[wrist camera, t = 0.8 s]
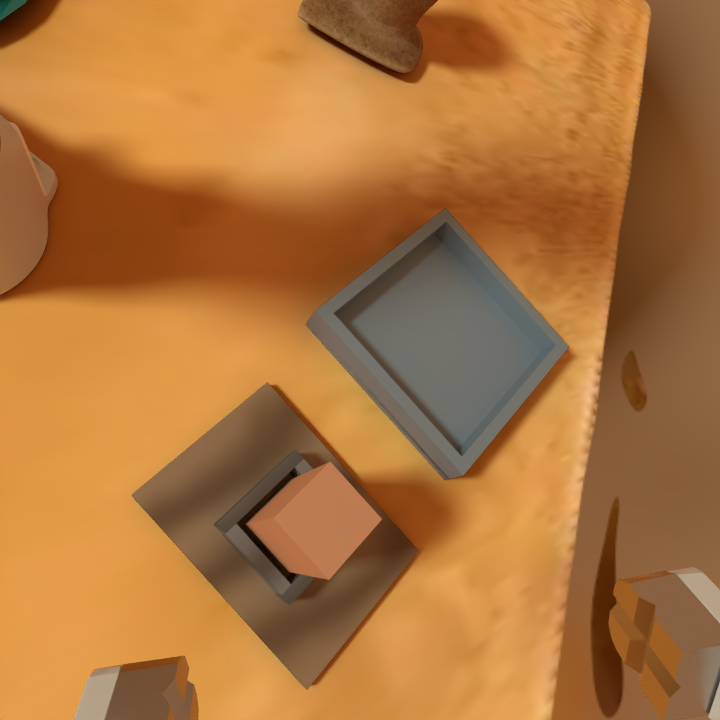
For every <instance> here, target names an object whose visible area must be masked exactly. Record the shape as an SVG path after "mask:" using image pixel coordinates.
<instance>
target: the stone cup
mask: <svg viewBox="0 0 720 720" xmlns="http://www.w3.org/2000/svg"><path fill="white" fill-rule="evenodd" d="M437 1H438V0H303V1H302V3H301V5H300V9H299V13H298V16H299V17H300V18H301V19H302V20H304V21H305V22H307V23H308V24H310V25H312V26H313V27H315V28H317V29H319V30H320V31H322V32H323V33H325V34H327V35H328V36H330V37H332V38H333V39H335V40H337V41H339V42H340V43H342V44H344V45H345V46H347V47H349V48H351V49H352V50H354V51H356V52H358V53H360V54H362V55H363V56H365V57H367V58H369V59H371V60H373V61H375V62H377V63H379V64H381V65H383V66H385V67H387V68H389V69H392V70H394V71H396V72H400V73H409V72H411V71H412V70H413V69H414V68H415V67H416V66H417V64H418V62H419V60H420V58H421V55H422V49H423V44H422V38H421V34H420V31H419V30H418V28H417V27H416V24H417V22H418V21H419V19H420V18H421V16H422V15H423V14H424V13H425V12H426V11H427V10H428V9H429V8H430V7H432V6H433V5H434V4H435V3H436V2H437Z"/></svg>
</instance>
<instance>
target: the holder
mask: <svg viewBox="0 0 720 720" xmlns="http://www.w3.org/2000/svg"><path fill="white" fill-rule="evenodd" d="M328 462H331V463H332V464H333V465H334V466H335V467H336V468H337V469H338V471H339V472H340V473H341V474H342V475H343V476H344V477H345V478H346V480H347V481H348V482H349V483H350V484H351V485H352V486H353V487H354V488H355V490H356V491H357V492H358V493H359V494H360V495H361V496H362V497H363V498H364V500H365V501H366V502H367V503H368V504H369V505H370V506H371V507H372V509H373V510H374V511H375V512H376V513H377V514H378V515H379V516H380V517H381V519H382V520H381V521H380V522H379V523H378V524H377V526H376V527H375V528H374V529H373V530H372V531H371V532H370V534H369V535H368V536H367V537H366V538H365V539H364V540H363V542H362V543H361V544H360V545H359V546H358V547H357V548H356V550H355V551H354V552H353V553H352V554H351V555H350V557H349V558H348V559H347V560H346V561H345V562H344V563H343V565H342V566H341V567H340V568H339V569H338V570H337V571H336V573H335V574H334V575H333V576H332V577H331V578H330V579H329V580H327V579H322V578H317V577H312V576H307V575H302V574H297V573H291V572H286V571H284V570H283V569H282V568H281V567H280V566H279V565H278V564H277V563H276V561H275V560H274V559H273V558H272V557H271V556H270V555H269V554H268V553H267V551H266V550H265V549H264V548H263V547H262V546H261V545H260V544H259V543H258V541H257V540H256V539H255V538H254V537H253V536H252V535H251V534H250V533H249V531H248V530H247V529H246V528H245V527H244V526H243V524H244V523H245V522H246V521H247V520H248V519H249V518H250V517H251V516H252V515H253V514H254V513H255V512H256V511H257V510H258V509H259V508H260V507H261V506H262V505H263V504H264V503H265V502H266V501H267V500H268V499H269V498H270V497H271V496H273V495H274V494H275V493H276V492H277V491H278V490H279V489H280V488H281V487H282V486H283V485H284V484H285V483H286V482H287V481H289V480H291V479H293V478H295V477H297V476H300V475H302V474H304V473H306V472H309V471H311V470H313V469H315V468H317V467H320V466H322V465H324V464H326V463H328ZM132 497H133V498H134V499H135V500H136V501H137V502H138V503H139V504H140V506H141V507H142V508H143V509H144V510H145V511H146V512H147V513H148V514H149V516H150V517H151V518H152V519H153V520H154V521H155V522H156V523H157V524H158V526H159V527H160V528H161V529H162V530H163V531H164V532H165V533H166V534H167V536H168V537H169V538H170V539H171V540H172V541H173V542H174V543H175V544H176V546H177V547H178V548H179V549H180V550H181V551H182V552H183V553H184V554H185V556H186V557H187V558H188V559H189V560H190V561H191V562H192V563H193V564H194V566H195V567H196V568H197V569H198V570H199V571H200V572H201V573H202V574H203V575H204V577H205V578H206V579H207V580H208V581H209V582H210V583H211V584H212V585H213V587H214V588H215V589H216V590H217V591H218V592H219V593H220V594H221V595H222V597H223V598H224V599H225V600H226V601H227V602H228V603H229V604H230V605H231V607H232V608H233V609H234V610H235V611H236V612H237V613H238V614H239V615H240V617H241V618H242V619H243V620H244V621H245V622H246V623H247V624H248V625H249V627H250V628H251V629H252V630H253V631H254V632H255V633H256V634H257V635H258V637H259V638H260V639H261V640H262V641H263V642H264V643H265V644H266V645H267V647H268V648H269V649H270V650H271V651H272V652H273V653H274V654H275V655H276V657H277V658H278V659H279V660H280V661H281V662H282V663H283V664H284V665H285V667H286V668H287V669H288V670H289V671H290V672H291V673H292V674H293V675H294V676H295V678H296V679H297V680H298V681H299V682H300V683H301V684H302V685H303V686H304V687H305V688H306V689H308V688H309V687H310V686H311V684H312V683H313V682H314V681H315V679H316V678H317V677H318V676H319V674H320V673H321V672H322V671H323V669H324V668H325V667H326V666H327V664H328V663H329V662H330V661H331V659H332V658H333V657H334V656H335V654H336V653H337V652H338V651H339V649H340V648H341V647H342V646H343V644H344V643H345V642H346V641H347V639H348V638H349V637H350V636H351V634H352V633H353V632H354V631H355V629H356V628H357V627H358V626H359V624H360V623H361V622H362V621H363V619H364V618H365V617H366V616H367V615H368V613H369V612H370V611H371V610H372V608H373V607H374V606H375V605H376V603H377V602H378V601H379V600H380V598H381V597H382V596H383V595H384V593H385V592H386V591H387V590H388V588H389V587H390V586H391V585H392V583H393V582H394V581H395V580H396V578H397V577H398V576H399V575H400V573H401V572H402V571H403V570H404V568H405V567H406V566H407V565H408V563H409V562H410V561H411V560H412V558H413V557H414V556H415V555H416V553H417V552H418V549H417V548H416V547H415V546H414V545H413V544H412V543H411V542H410V540H409V539H408V538H407V537H406V536H405V535H404V534H403V533H402V532H401V530H400V529H399V528H398V527H397V526H396V525H395V524H394V523H393V522H392V520H391V519H390V518H389V517H388V516H387V515H386V514H385V513H384V511H383V510H382V509H381V508H380V507H379V506H378V505H377V504H376V503H375V501H374V500H373V499H372V498H371V497H370V496H369V495H368V494H367V493H366V491H365V490H364V489H363V488H362V487H361V486H360V485H359V484H358V482H357V481H356V480H355V479H354V478H353V477H352V476H351V475H350V474H349V472H348V471H347V470H346V469H345V468H344V467H343V466H342V465H341V464H340V462H339V461H338V460H337V459H336V458H335V457H334V456H333V455H332V453H331V452H330V451H329V450H328V449H327V448H326V447H325V446H324V445H323V443H322V442H321V441H320V440H319V439H318V438H317V437H316V436H315V435H314V433H313V432H312V431H311V430H310V429H309V428H308V427H307V426H306V424H305V423H304V422H303V421H302V420H301V419H300V418H299V417H298V416H297V414H296V413H295V412H294V411H293V410H292V409H291V408H290V407H289V406H288V404H287V403H286V402H285V401H284V400H283V399H282V398H281V397H280V395H279V394H278V393H277V392H276V391H275V390H274V389H273V388H272V387H271V385H270V384H269V383H268V382H267V383H266V384H265V385H263V386H262V387H261V388H260V389H258V390H257V391H256V392H255V393H254V394H252V395H251V396H250V397H249V398H248V399H246V400H245V401H244V402H243V403H242V404H240V405H239V406H238V407H237V408H236V409H234V410H233V411H232V412H231V413H230V414H228V415H227V416H226V417H225V418H224V419H222V420H221V421H220V422H219V423H217V424H216V425H215V426H214V427H213V428H211V429H210V430H209V431H208V432H207V433H205V434H204V435H203V436H202V437H201V438H199V439H198V440H197V441H196V442H195V443H193V444H192V445H191V446H190V447H189V448H187V449H186V450H185V451H184V452H183V453H181V454H180V455H179V456H178V457H177V458H175V459H174V460H173V461H172V462H170V463H169V464H168V465H167V466H166V467H164V468H163V469H162V470H161V471H160V472H158V473H157V474H156V475H155V476H154V477H152V478H151V479H150V480H149V481H148V482H146V483H145V484H144V485H143V486H142V487H140V488H139V489H138V490H137V491H136V492H134V493H133V494H132Z"/></svg>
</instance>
